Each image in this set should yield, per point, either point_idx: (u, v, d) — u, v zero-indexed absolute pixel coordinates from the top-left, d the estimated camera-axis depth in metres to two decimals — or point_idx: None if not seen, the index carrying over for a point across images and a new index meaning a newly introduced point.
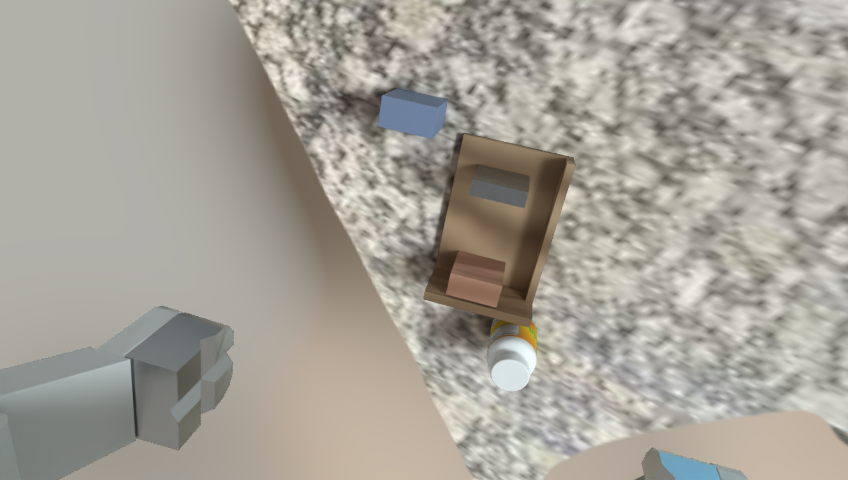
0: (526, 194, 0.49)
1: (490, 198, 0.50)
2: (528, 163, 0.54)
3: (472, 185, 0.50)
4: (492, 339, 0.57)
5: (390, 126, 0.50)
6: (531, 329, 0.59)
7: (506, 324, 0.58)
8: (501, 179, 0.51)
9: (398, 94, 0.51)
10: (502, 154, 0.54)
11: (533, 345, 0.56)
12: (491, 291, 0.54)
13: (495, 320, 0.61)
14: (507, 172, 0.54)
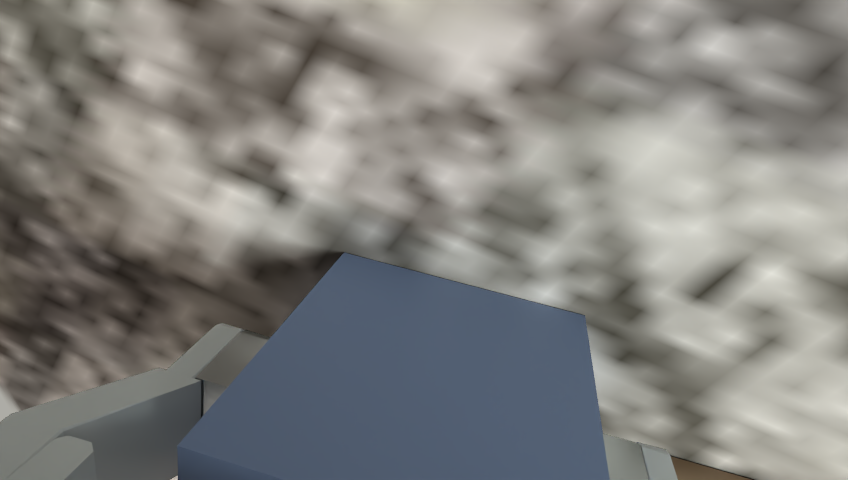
0: None
1: None
2: None
3: None
4: None
5: None
6: None
7: None
8: None
9: (326, 357, 0.08)
10: None
11: None
12: None
13: None
14: None
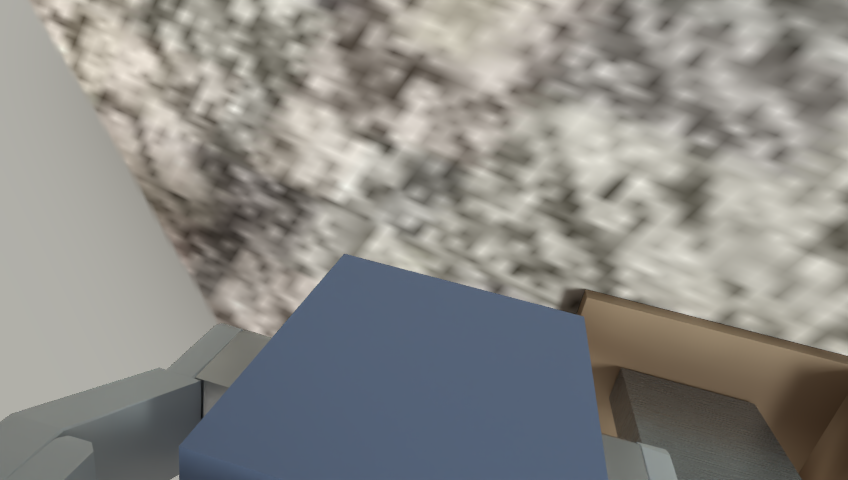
0: None
1: None
2: (753, 374, 0.21)
3: None
4: None
5: None
6: None
7: None
8: (714, 448, 0.18)
9: (326, 358, 0.08)
10: (685, 349, 0.21)
11: None
12: None
13: None
14: (701, 397, 0.21)
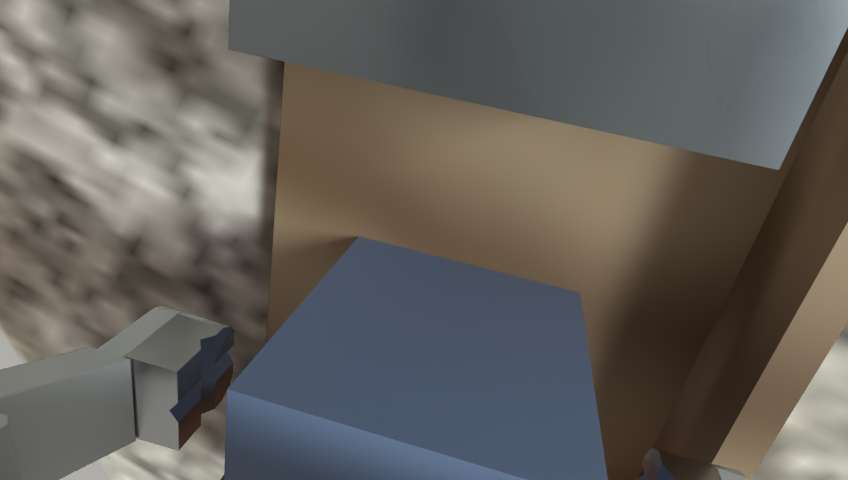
0: (840, 3, 0.04)
1: (429, 75, 0.05)
2: None
3: None
4: None
5: None
6: None
7: None
8: None
9: (349, 322, 0.09)
10: None
11: None
12: None
13: None
14: None
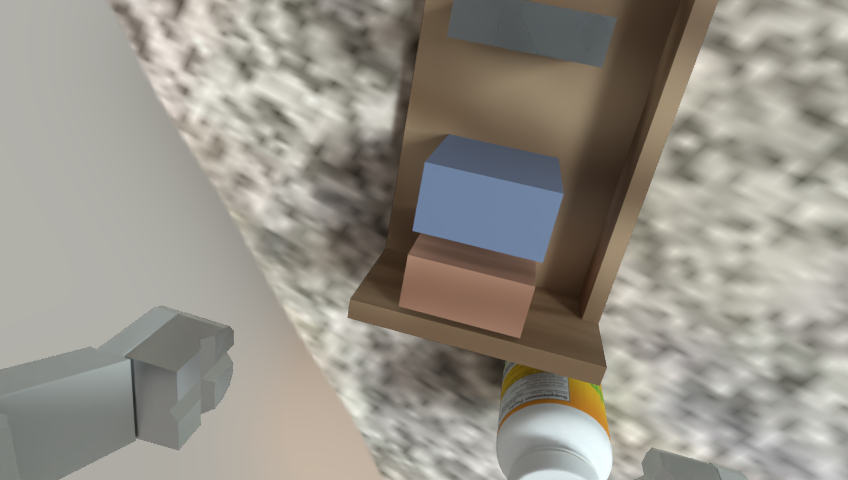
0: (611, 23, 0.17)
1: (506, 43, 0.18)
2: None
3: (458, 5, 0.18)
4: (508, 407, 0.25)
5: (442, 232, 0.21)
6: None
7: (538, 372, 0.26)
8: None
9: (458, 154, 0.22)
10: None
11: (604, 423, 0.24)
12: (508, 298, 0.22)
13: None
14: None
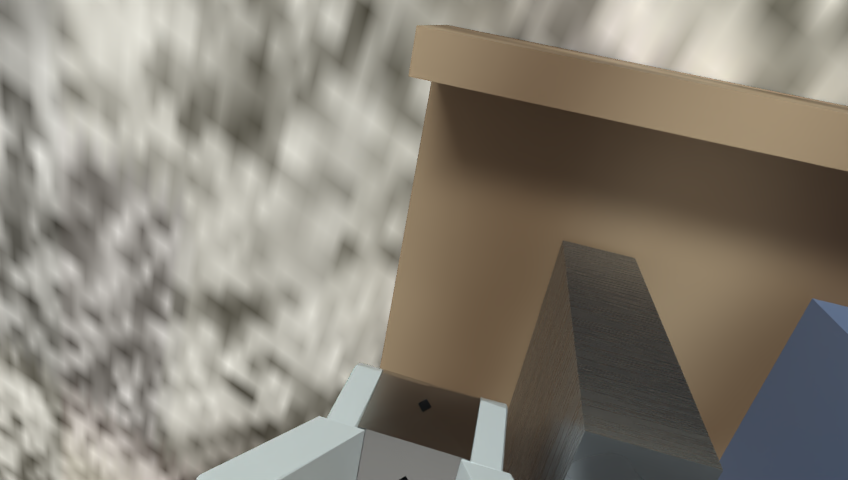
0: (598, 444, 0.06)
1: None
2: (467, 234, 0.12)
3: None
4: None
5: None
6: None
7: None
8: (527, 456, 0.09)
9: None
10: (432, 330, 0.13)
11: None
12: None
13: None
14: (534, 342, 0.12)
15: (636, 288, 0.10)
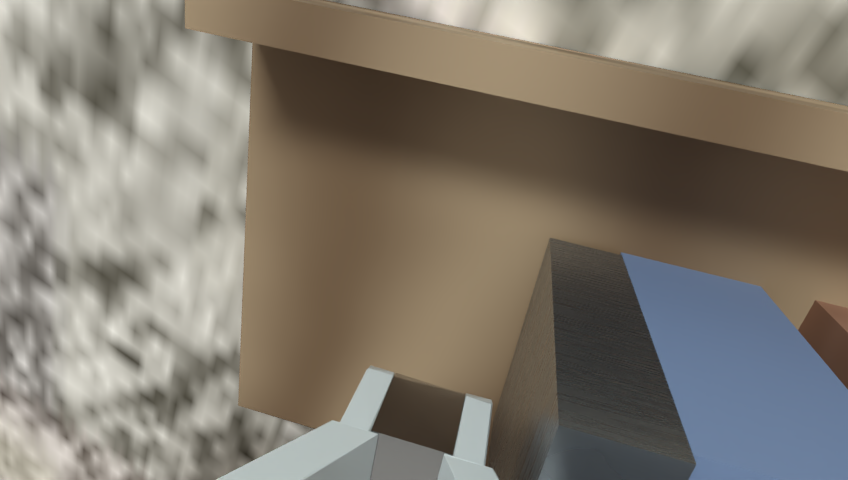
0: (572, 439, 0.06)
1: None
2: (303, 193, 0.13)
3: None
4: None
5: None
6: None
7: None
8: (510, 453, 0.09)
9: None
10: (283, 290, 0.14)
11: None
12: None
13: None
14: (522, 339, 0.12)
15: (621, 285, 0.10)
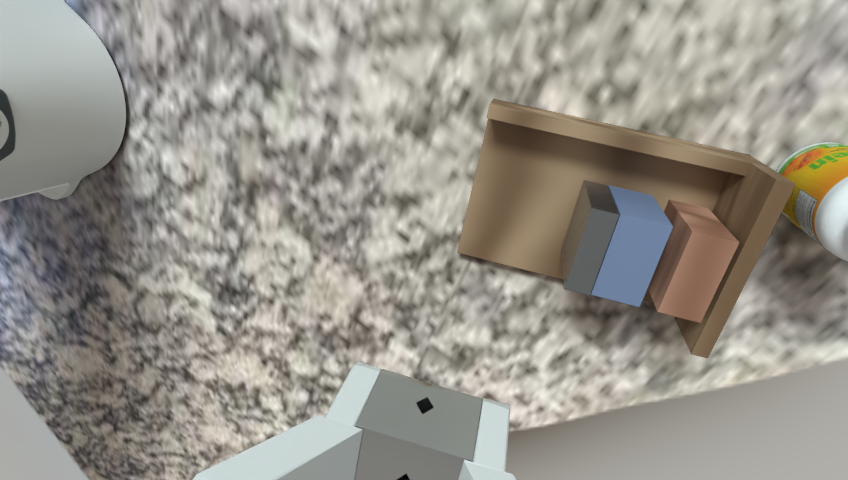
0: (594, 211, 0.30)
1: (598, 264, 0.31)
2: (498, 166, 0.37)
3: (573, 288, 0.32)
4: (821, 245, 0.30)
5: (642, 288, 0.32)
6: (816, 162, 0.30)
7: (795, 212, 0.31)
8: (574, 236, 0.33)
9: None
10: (485, 202, 0.38)
11: None
12: (701, 249, 0.30)
13: None
14: (574, 214, 0.36)
15: (606, 191, 0.34)
